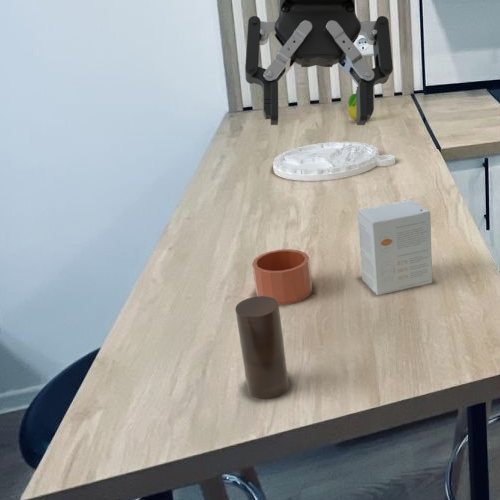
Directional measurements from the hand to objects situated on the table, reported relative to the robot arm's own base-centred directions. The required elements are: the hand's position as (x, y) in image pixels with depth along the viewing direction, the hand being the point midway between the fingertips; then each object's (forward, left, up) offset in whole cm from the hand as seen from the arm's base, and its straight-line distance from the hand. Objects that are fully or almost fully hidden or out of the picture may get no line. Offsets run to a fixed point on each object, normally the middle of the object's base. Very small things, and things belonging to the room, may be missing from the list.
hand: (318, 123), depth 64 cm
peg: (+4, +8, -27) cm, 28 cm away
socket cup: (+14, -12, -27) cm, 32 cm away
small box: (+1, -20, -27) cm, 33 cm away
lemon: (+48, -109, -27) cm, 122 cm away
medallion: (+36, -70, -27) cm, 83 cm away
